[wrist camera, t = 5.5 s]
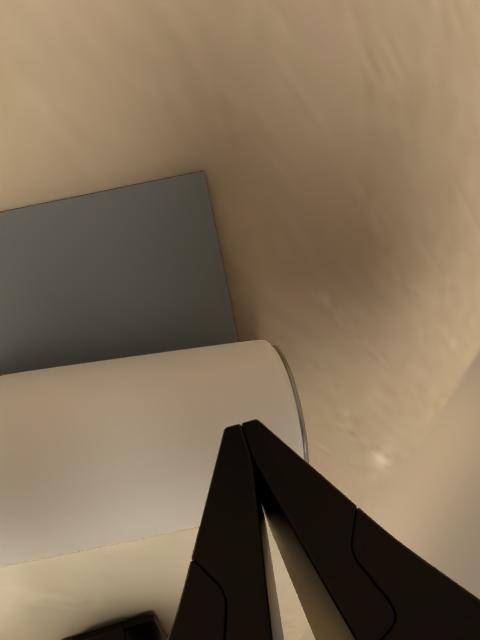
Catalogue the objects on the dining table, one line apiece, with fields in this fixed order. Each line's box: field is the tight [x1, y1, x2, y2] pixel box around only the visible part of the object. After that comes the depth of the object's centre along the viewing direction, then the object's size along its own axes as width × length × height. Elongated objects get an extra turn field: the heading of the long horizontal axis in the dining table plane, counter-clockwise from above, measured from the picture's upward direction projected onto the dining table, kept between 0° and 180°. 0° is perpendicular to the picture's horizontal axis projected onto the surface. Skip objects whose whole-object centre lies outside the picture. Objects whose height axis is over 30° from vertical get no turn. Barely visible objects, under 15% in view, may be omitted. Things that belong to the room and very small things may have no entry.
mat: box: [0, 171, 239, 376], centre depth 15 cm, size 11×14×1 cm
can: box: [0, 340, 309, 567], centre depth 14 cm, size 6×6×12 cm
